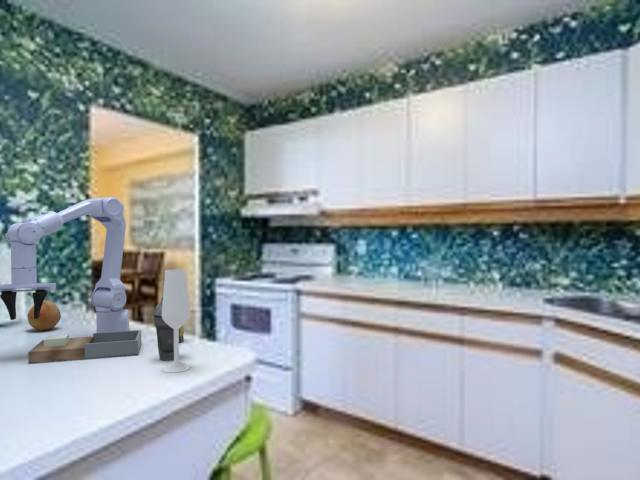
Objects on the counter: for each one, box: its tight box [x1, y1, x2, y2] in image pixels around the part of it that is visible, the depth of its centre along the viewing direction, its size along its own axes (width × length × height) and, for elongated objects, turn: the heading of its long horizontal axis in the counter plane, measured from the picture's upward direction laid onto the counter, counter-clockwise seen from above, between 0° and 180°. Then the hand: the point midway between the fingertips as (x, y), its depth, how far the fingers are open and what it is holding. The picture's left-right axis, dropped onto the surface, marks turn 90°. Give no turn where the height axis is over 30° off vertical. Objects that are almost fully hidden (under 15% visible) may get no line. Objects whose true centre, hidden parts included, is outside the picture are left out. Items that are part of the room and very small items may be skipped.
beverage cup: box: [153, 282, 180, 362], centre depth 124 cm, size 7×7×20 cm
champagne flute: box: [161, 269, 191, 373], centre depth 115 cm, size 7×7×24 cm
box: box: [84, 329, 142, 360], centre depth 132 cm, size 13×14×4 cm
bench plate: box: [27, 336, 93, 365], centre depth 128 cm, size 13×14×3 cm
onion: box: [26, 299, 62, 332], centre depth 160 cm, size 10×10×10 cm
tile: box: [43, 333, 70, 347], centre depth 128 cm, size 5×5×2 cm
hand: (25, 318), depth 125 cm, fingers open, 5 cm apart
